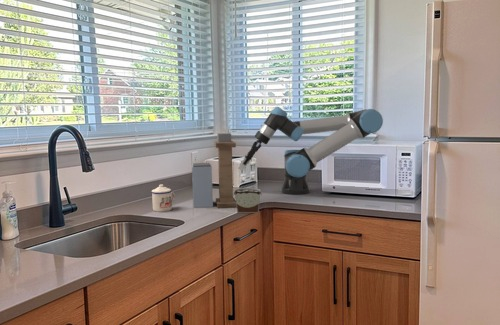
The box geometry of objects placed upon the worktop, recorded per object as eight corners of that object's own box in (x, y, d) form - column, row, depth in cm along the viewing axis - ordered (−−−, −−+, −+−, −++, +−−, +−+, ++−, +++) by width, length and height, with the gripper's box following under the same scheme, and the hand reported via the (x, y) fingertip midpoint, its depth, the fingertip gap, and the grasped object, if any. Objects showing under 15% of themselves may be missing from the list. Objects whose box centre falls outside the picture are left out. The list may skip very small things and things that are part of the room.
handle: (215, 140, 223) (215, 132, 223) (227, 139, 224) (227, 132, 223) (218, 142, 204) (218, 134, 204) (231, 142, 205) (231, 133, 205)
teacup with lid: (160, 212, 196) (159, 187, 194) (148, 210, 201) (147, 185, 200) (181, 208, 205) (180, 183, 203) (168, 205, 210) (167, 181, 209)
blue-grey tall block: (193, 202, 216) (191, 163, 214) (211, 202, 217) (210, 162, 215) (193, 207, 205) (192, 166, 203) (212, 206, 206) (211, 165, 204)
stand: (215, 202, 216) (214, 141, 213) (233, 201, 218) (232, 141, 214) (217, 208, 203) (215, 143, 199) (237, 207, 204) (235, 142, 200)
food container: (262, 209, 198) (262, 187, 197) (261, 212, 192) (261, 190, 191) (235, 209, 199) (235, 187, 198) (233, 212, 193) (233, 190, 192)
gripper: (259, 129, 236) (236, 161, 239) (258, 131, 212) (233, 166, 214) (270, 137, 237) (247, 169, 239) (271, 140, 212) (245, 175, 214)
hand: (240, 168), depth 226 cm, fingers open, 13 cm apart
